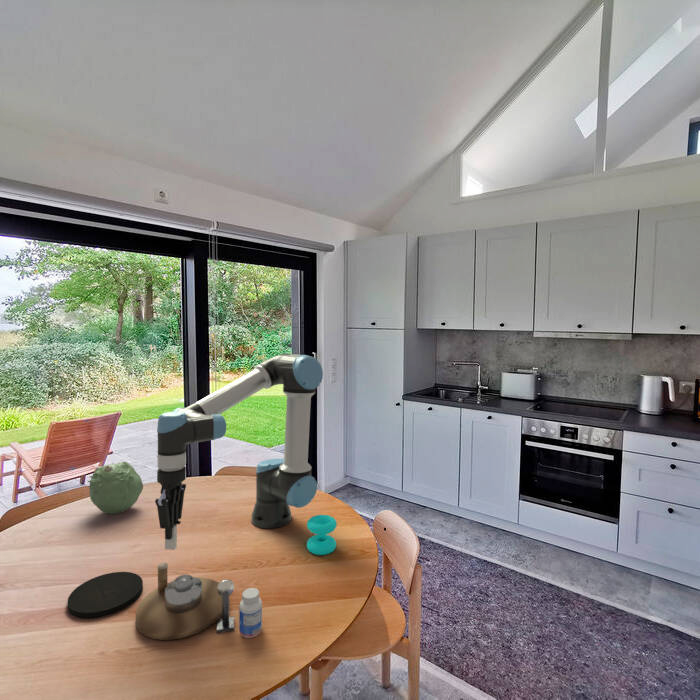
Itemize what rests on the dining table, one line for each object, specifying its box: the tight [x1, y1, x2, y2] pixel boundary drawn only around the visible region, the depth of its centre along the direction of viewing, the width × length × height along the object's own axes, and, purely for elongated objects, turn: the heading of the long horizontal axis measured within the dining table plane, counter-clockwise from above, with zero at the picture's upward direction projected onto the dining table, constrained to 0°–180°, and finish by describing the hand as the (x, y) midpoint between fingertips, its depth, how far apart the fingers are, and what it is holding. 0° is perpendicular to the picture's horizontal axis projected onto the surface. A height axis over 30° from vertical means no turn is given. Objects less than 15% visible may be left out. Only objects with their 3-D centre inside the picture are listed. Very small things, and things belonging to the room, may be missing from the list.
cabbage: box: [87, 461, 144, 515], centre depth 166 cm, size 16×19×20 cm
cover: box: [165, 574, 202, 613], centre depth 110 cm, size 9×9×6 cm
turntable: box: [135, 562, 222, 641], centre depth 110 cm, size 22×22×8 cm
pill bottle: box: [238, 587, 263, 639], centre depth 103 cm, size 6×5×10 cm
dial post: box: [216, 578, 235, 634], centre depth 105 cm, size 4×4×12 cm
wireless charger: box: [67, 571, 144, 620], centre depth 115 cm, size 18×18×2 cm
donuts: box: [306, 514, 338, 556], centre depth 142 cm, size 10×10×10 cm
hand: (170, 548), depth 121 cm, fingers closed
